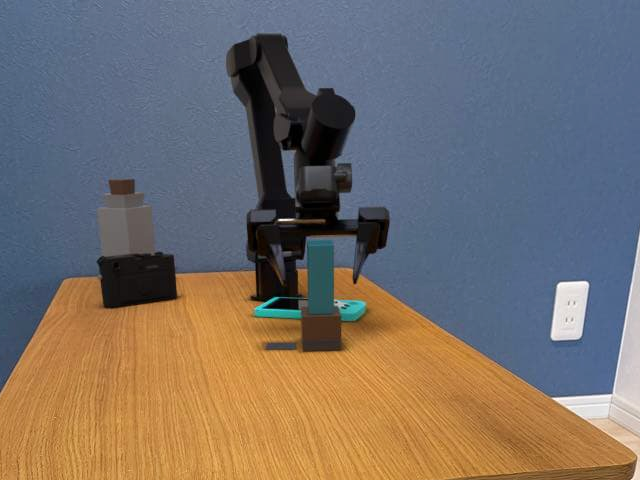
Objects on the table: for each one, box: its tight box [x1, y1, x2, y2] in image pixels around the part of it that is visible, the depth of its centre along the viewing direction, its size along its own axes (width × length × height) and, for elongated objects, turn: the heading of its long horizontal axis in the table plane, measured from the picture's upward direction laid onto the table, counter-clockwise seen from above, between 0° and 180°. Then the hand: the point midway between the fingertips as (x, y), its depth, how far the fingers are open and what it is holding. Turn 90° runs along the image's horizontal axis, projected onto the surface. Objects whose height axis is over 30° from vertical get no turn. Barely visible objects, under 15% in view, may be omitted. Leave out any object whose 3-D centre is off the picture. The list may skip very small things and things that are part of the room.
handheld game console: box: [254, 297, 367, 322], centre depth 132 cm, size 10×16×1 cm, turn 72°
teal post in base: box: [300, 239, 342, 352], centre depth 110 cm, size 6×5×13 cm
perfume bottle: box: [96, 178, 156, 257], centre depth 153 cm, size 7×7×18 cm
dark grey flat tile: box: [265, 341, 298, 351], centre depth 113 cm, size 4×4×1 cm
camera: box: [96, 251, 178, 309], centre depth 142 cm, size 14×7×8 cm, turn 124°
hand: (319, 283), depth 111 cm, fingers open, 9 cm apart
